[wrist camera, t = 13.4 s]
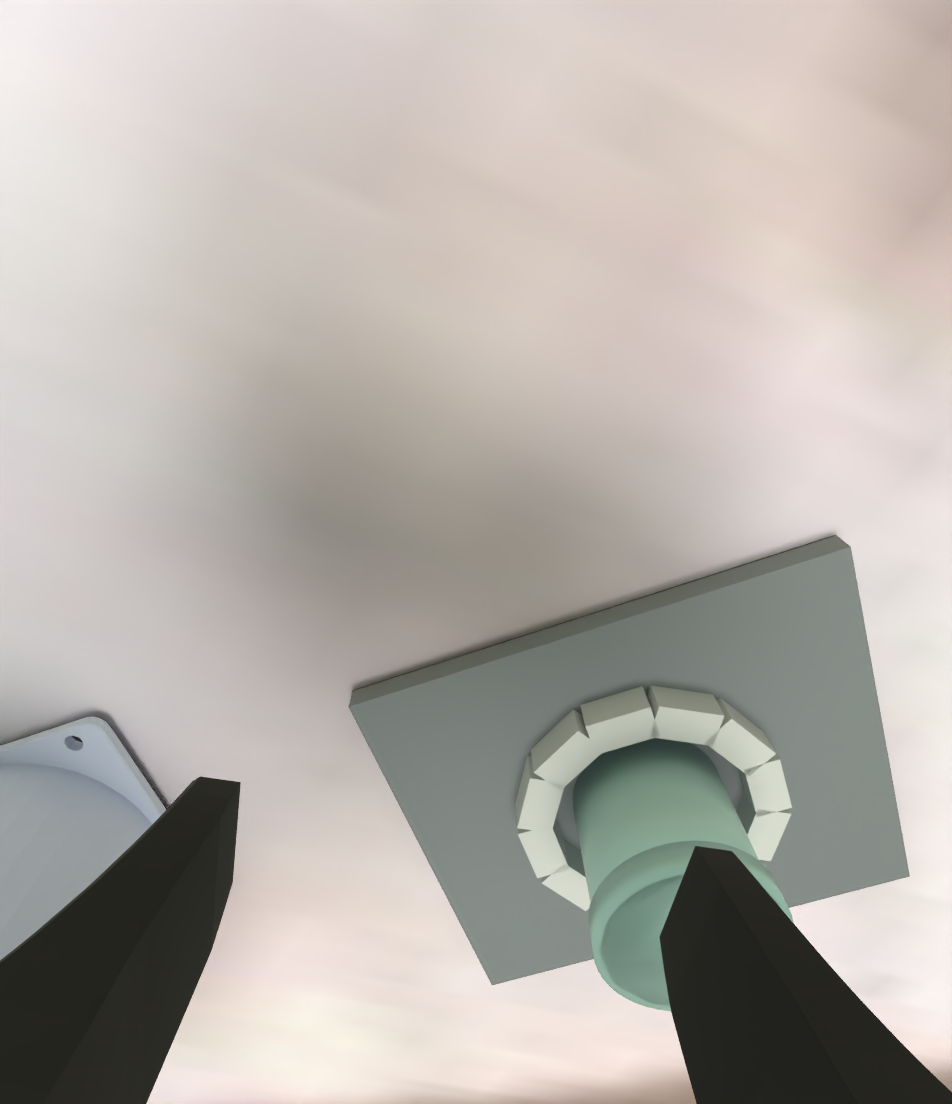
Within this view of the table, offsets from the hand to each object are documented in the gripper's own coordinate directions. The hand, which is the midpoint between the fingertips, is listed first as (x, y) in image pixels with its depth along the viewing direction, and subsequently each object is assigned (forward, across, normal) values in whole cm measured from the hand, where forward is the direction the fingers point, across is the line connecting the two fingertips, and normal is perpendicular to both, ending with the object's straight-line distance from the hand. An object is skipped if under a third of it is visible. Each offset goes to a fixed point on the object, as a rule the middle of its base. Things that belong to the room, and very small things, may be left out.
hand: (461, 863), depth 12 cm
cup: (+9, -6, +5) cm, 12 cm away
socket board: (+9, -6, +5) cm, 12 cm away
